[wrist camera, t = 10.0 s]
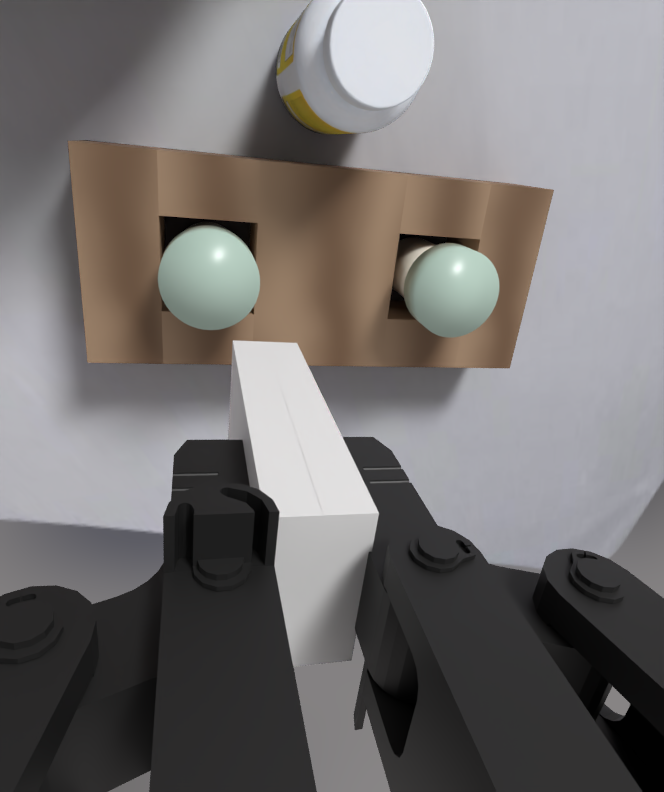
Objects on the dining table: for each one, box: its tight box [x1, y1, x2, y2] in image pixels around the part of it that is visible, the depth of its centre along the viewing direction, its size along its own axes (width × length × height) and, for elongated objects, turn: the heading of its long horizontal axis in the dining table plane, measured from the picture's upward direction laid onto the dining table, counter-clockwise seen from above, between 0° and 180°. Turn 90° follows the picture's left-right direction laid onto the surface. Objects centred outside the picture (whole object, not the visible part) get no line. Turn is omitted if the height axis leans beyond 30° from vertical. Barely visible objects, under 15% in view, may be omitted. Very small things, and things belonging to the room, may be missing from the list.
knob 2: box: [392, 237, 499, 338], centre depth 35 cm, size 5×5×8 cm
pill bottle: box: [276, 0, 434, 134], centre depth 28 cm, size 6×6×12 cm
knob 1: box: [158, 222, 260, 330], centre depth 32 cm, size 5×5×8 cm
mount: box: [68, 140, 554, 368], centre depth 36 cm, size 28×12×5 cm, turn 84°
